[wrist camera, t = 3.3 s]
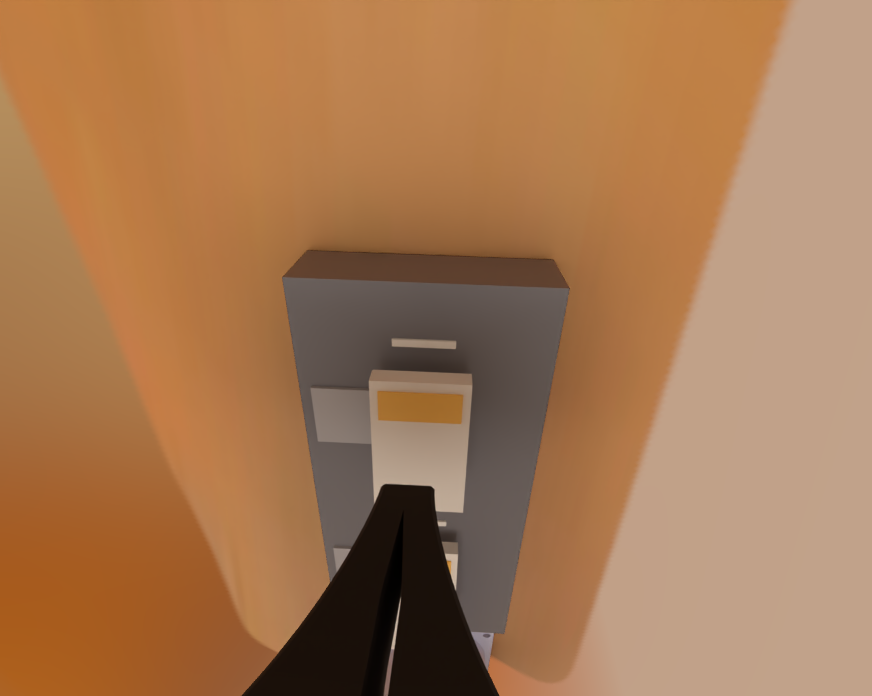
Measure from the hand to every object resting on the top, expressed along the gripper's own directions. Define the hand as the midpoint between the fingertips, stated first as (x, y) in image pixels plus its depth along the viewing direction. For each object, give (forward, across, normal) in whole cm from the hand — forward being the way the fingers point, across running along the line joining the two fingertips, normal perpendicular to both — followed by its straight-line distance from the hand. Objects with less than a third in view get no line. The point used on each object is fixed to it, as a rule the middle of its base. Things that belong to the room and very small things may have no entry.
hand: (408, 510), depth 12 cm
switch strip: (+9, 0, +7) cm, 12 cm away
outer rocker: (+5, 0, +2) cm, 5 cm away
